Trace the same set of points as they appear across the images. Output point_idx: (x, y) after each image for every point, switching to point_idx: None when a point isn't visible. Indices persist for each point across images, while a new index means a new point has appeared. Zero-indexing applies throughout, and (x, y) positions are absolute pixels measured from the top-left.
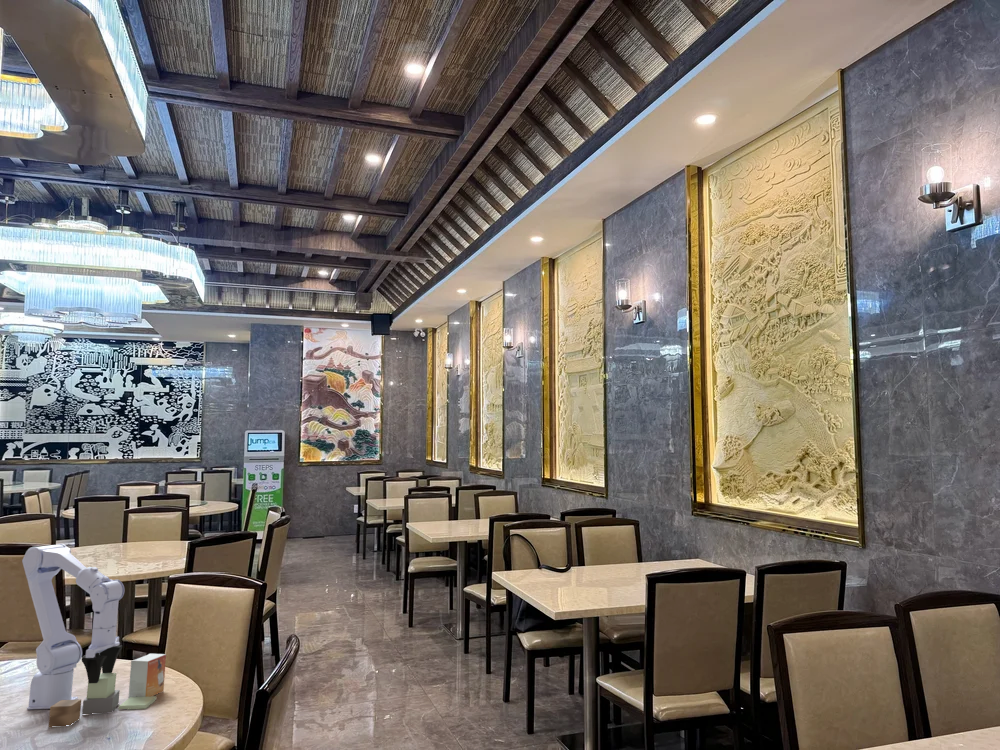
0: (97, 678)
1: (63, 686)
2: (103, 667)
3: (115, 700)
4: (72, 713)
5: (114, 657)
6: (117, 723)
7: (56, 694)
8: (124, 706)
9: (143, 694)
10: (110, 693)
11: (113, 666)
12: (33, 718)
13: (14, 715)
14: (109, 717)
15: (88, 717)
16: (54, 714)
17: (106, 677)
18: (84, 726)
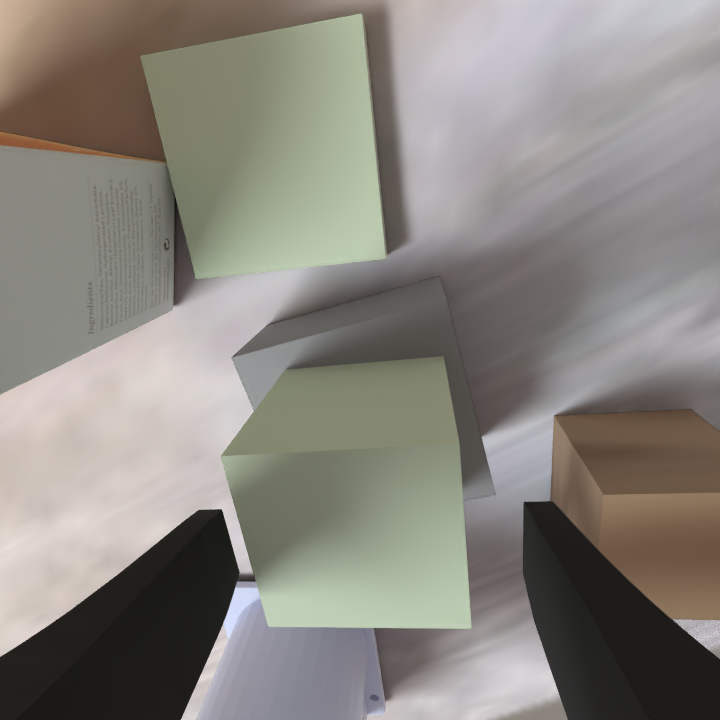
0: (584, 536)
1: (316, 710)
2: (206, 642)
3: (349, 313)
4: (706, 450)
5: (74, 680)
6: (714, 74)
7: (349, 684)
8: (382, 213)
9: (155, 181)
10: (364, 367)
11: (154, 557)
12: (504, 636)
13: (452, 715)
14: (546, 232)
15: (525, 380)
16: None
17: (417, 478)
18: (717, 312)
